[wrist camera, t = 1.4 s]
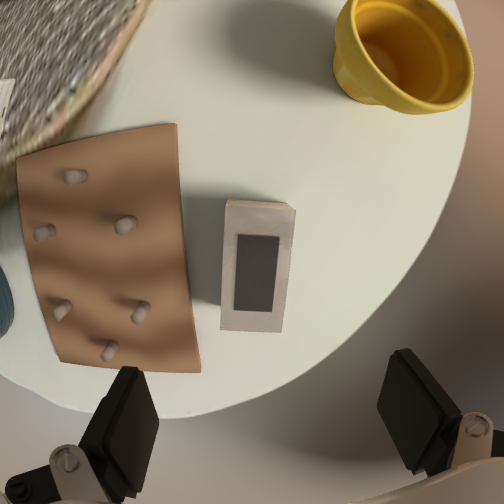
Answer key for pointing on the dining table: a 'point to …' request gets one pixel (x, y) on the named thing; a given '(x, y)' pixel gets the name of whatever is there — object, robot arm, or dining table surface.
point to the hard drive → (4, 98)
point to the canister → (5, 305)
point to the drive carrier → (255, 265)
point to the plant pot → (402, 55)
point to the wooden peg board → (111, 250)
